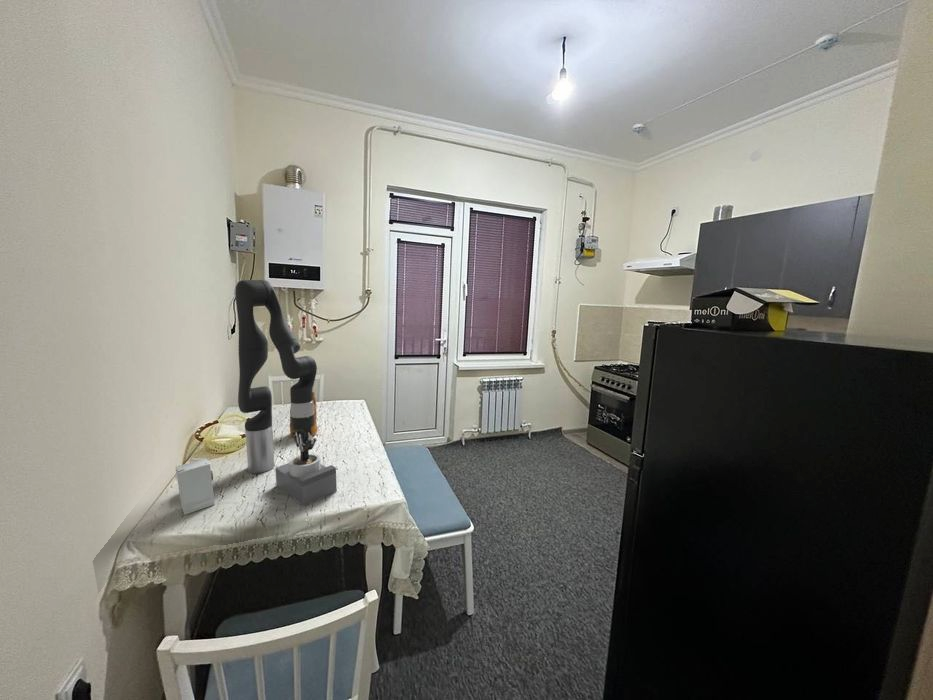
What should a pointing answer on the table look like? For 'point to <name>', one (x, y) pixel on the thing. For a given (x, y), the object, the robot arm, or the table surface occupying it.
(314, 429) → the coffee package
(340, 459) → the table surface
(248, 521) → the table surface
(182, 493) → the skincare box
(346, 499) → the table surface
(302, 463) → the grey dome
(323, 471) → the camera body
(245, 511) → the table surface
